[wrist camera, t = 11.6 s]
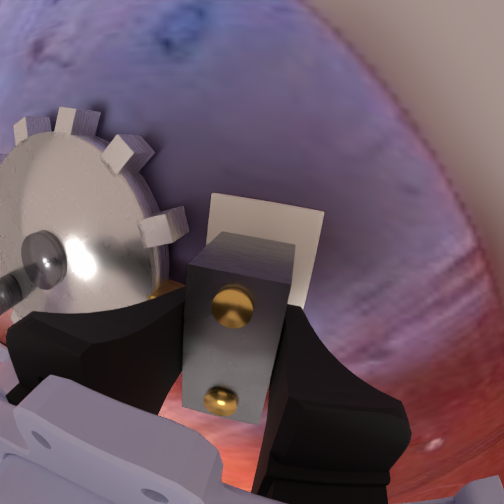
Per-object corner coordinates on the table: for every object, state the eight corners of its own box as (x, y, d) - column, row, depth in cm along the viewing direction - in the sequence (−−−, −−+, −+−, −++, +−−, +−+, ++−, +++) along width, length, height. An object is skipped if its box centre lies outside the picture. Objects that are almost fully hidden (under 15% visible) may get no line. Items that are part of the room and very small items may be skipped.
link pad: (290, 359, 16) (289, 362, 16) (199, 340, 16) (197, 343, 16) (324, 211, 13) (324, 212, 13) (213, 192, 14) (211, 193, 14)
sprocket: (246, 319, 15) (214, 404, 9) (72, 375, 19) (27, 423, 13) (109, 55, 12) (26, 27, 6) (-19, 201, 16) (-79, 219, 11)
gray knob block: (270, 364, 14) (257, 430, 10) (209, 350, 14) (179, 411, 10) (295, 244, 12) (290, 289, 8) (222, 231, 13) (183, 267, 9)
